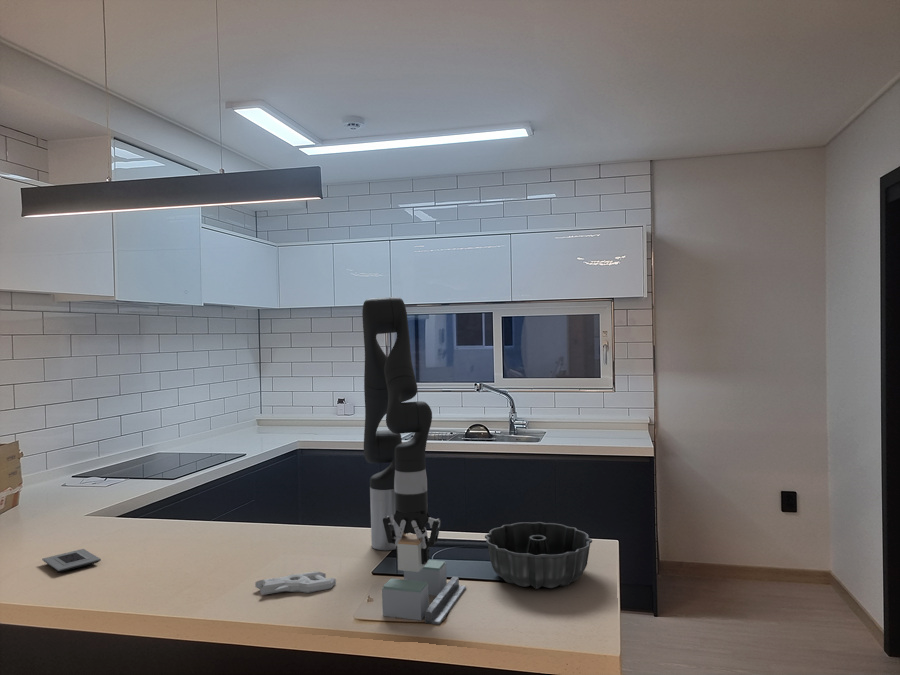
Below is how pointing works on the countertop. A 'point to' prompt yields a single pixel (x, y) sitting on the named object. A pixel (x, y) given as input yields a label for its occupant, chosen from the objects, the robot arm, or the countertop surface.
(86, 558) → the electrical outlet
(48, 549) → the countertop surface
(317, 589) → the grey flat plastic piece
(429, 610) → the rail
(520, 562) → the bundt pan
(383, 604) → the block
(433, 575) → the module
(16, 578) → the countertop surface
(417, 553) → the block
